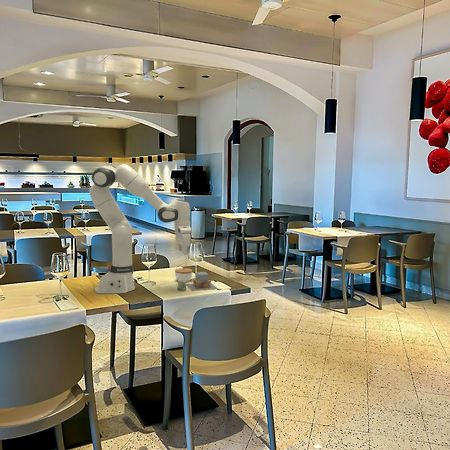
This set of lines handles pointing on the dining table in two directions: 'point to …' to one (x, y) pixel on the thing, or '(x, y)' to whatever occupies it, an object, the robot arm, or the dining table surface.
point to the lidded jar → (183, 274)
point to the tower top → (201, 276)
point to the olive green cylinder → (181, 286)
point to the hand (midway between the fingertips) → (182, 252)
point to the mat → (201, 288)
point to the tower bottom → (201, 284)
